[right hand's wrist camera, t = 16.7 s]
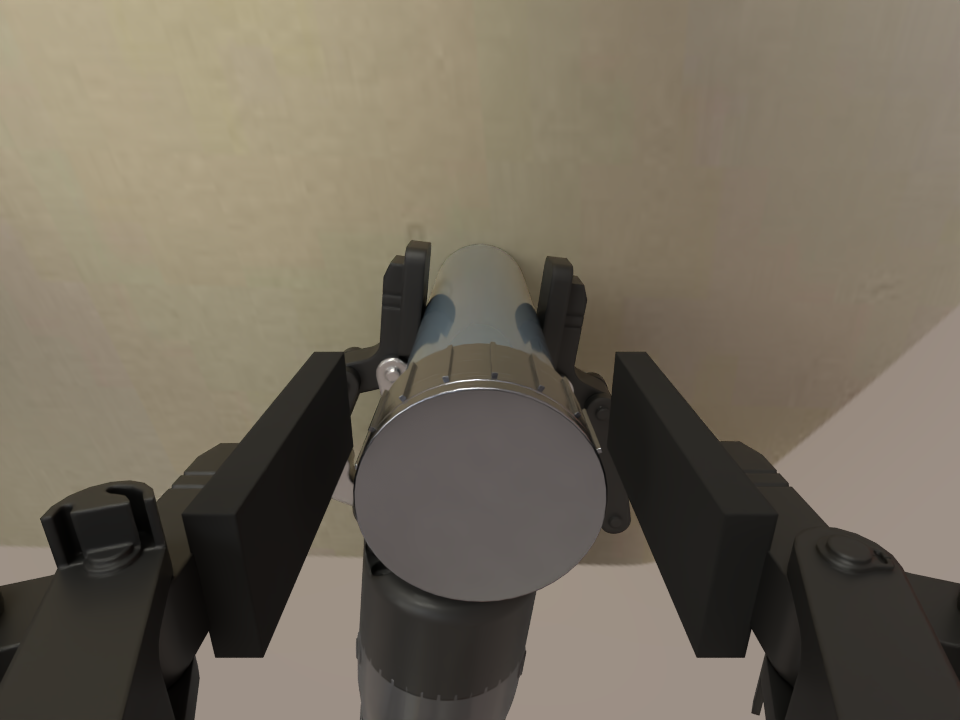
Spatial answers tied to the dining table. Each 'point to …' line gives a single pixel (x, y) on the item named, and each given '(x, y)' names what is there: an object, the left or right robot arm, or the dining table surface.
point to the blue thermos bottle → (480, 306)
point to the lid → (480, 475)
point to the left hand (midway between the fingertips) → (490, 255)
